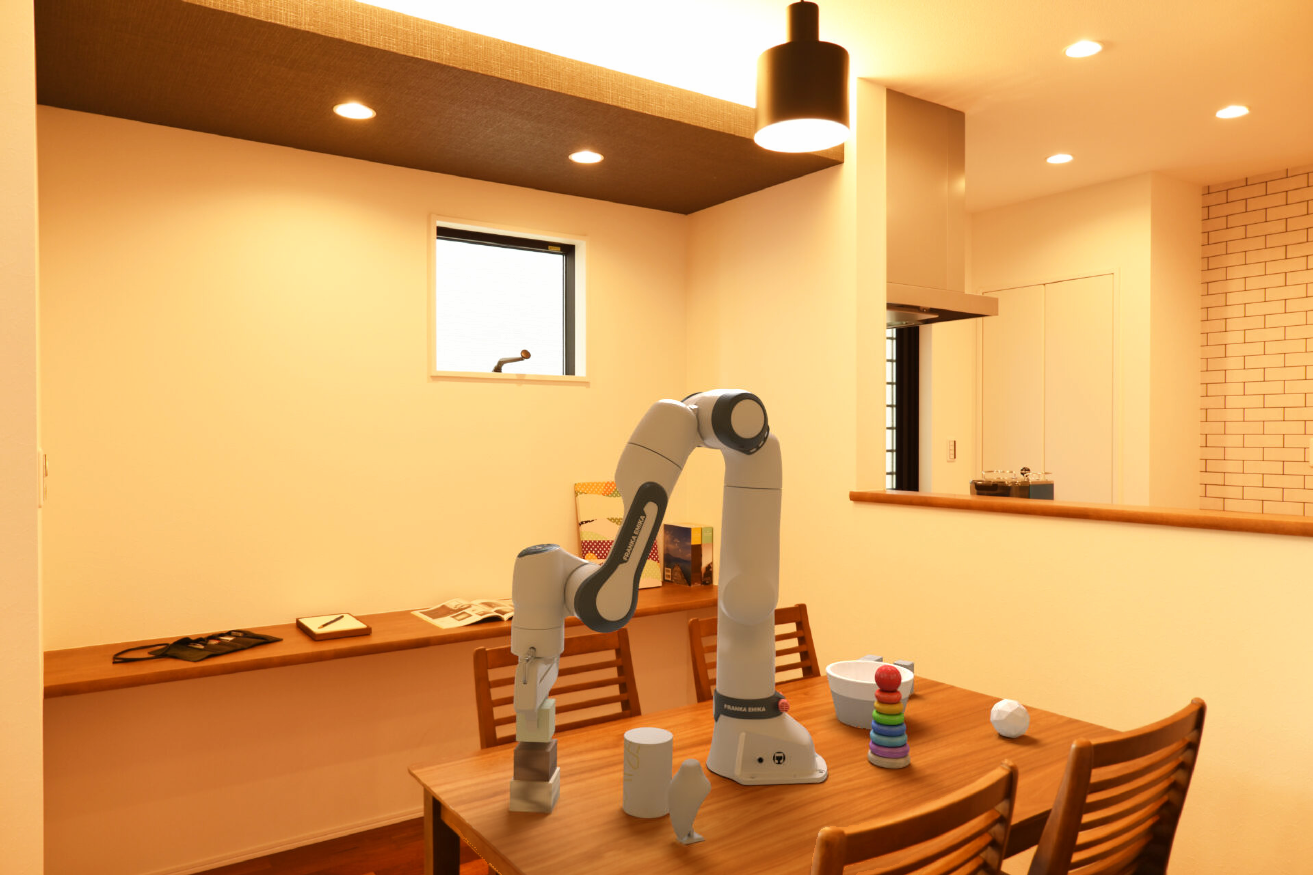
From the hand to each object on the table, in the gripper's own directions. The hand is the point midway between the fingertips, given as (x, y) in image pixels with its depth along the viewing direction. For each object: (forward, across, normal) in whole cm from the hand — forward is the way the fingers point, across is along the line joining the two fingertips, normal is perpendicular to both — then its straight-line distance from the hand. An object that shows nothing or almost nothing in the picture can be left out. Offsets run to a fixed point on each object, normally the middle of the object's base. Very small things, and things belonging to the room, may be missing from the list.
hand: (536, 723), depth 145 cm
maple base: (+14, 0, 0) cm, 14 cm away
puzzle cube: (+14, +71, -72) cm, 102 cm away
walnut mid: (+8, 0, 0) cm, 8 cm away
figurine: (+14, -11, -26) cm, 31 cm away
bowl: (+14, +51, -65) cm, 84 cm away
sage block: (+2, 0, 0) cm, 2 cm away
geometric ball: (+14, +43, -93) cm, 103 cm away
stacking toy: (+14, +25, -64) cm, 70 cm away
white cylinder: (+14, 0, -19) cm, 23 cm away
